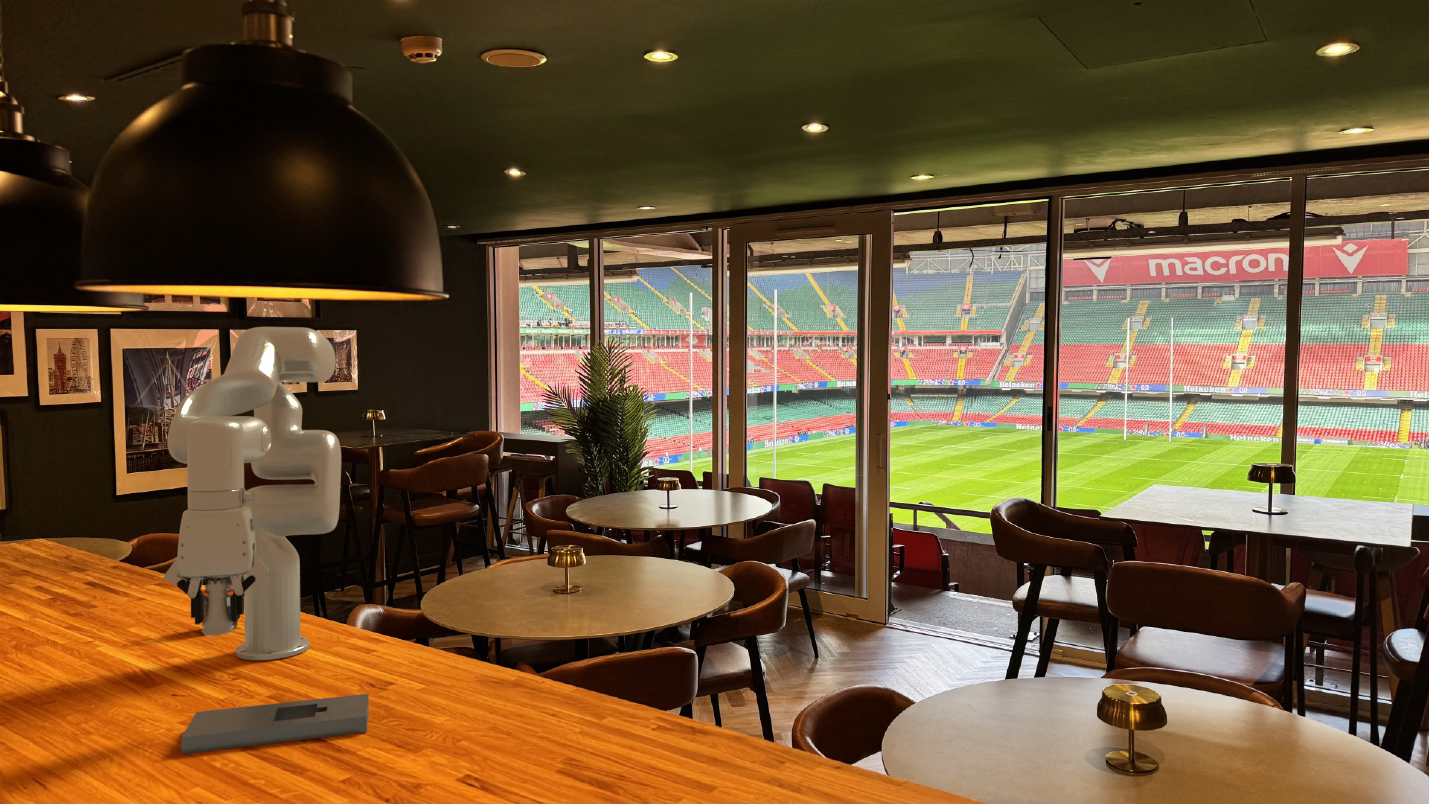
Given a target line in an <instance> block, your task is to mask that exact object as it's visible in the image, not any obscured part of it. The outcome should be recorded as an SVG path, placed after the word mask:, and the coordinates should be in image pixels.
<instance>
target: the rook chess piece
mask: <svg viewBox="0 0 1429 804" xmlns="http://www.w3.org/2000/svg"><path fill="white" fill-rule="evenodd" d="M228 586H229V584H228V583H227V579H226V578H220V581H217V578H214V581H212V579H210V578H209V579H208V580H207V584H206V585H205V586H204V588H205V589H207V590H208V596H207V598H208V610H207V614H206V616H205V619H204V620H203V622H202V623H201V626H202V627H203V628H202V629H201V633H203V635H205V636H219V635H225V634H229V633H231V632H232V631H233V630H234V629H235V628H234V626H233V625H232V623H233V621H231V616H230V615H231V614H230V613H229V611H228V607H227V600H226V597H227V595H228V594H227V593H226V589H227V588H228ZM233 628H234V629H233Z"/></svg>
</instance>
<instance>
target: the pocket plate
mask: <svg viewBox="0 0 1429 804" xmlns="http://www.w3.org/2000/svg"><path fill="white" fill-rule="evenodd" d="M369 694H370V693H362V694H351V695H343V696H334V697H325V698H323V697H322V698H314V699H306V700H298V701H297V700H296V701H286V702H279V703H277V702H276V703H269V704H268V703H267V704H258V705H249V706H248V705H247V706H240V707H231V708H221V709H212V710H211V709H210V710H203V711H196V712H195V714H194V716H193V717H192V719H191V720H190V722H189V724H188V725H187V727H186V729H185V730H184V732H183V734H182V736H180V737H181V755H187V754H188V755H189V754H195V753H204V752H213V751H221V750H230V749H237V748H246V747H255V746H256V747H257V746H262V745H263V746H264V745H272V744H280V743H289V742H290V743H291V742H297V741H305V740H315V739H321V738H330V737H339V736H346V735H355V734H363V733H364V734H365V733H367V732H368V731H367V730H368V724H369V723H368V721H369V708H370V707H369V701H370V699H369Z"/></svg>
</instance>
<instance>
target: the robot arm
mask: <svg viewBox="0 0 1429 804" xmlns="http://www.w3.org/2000/svg"><path fill="white" fill-rule="evenodd" d="M336 361H337V359H336V353H335V350H334V347H333V345H332V344H331V342H330V340H329V339H327V338H326V337H325V336H324V335H323V334H321V333H320V332H318V331H317V330H315V329H313V328H309V327H300V326H299V327H297V326H294V327H293V326H292V327H291V326H288V327H287V326H258V327H257V326H256V327H252V328H248V329H247V330H245V331H244V332H242V333H241V334H240V336H239V337H238V339H237V340H236V343H235V345H234V348H233V350H232V351H231V355H230V358H229V360H228V363H227V366H226V368H225V370H224V373H223V374H221V375H219V376H217V377H215V378H213V379H211V380H209V381H208V382H207V381H206V383H204V384H202V385H200V386H198V387H197V388H195V389H193V390H192V391H190V392H189V393H188V394H187V395H185V397H184V398H183V399H182V400H181V402H180V403H179V405H178V407H177V409H176V411H175V413H174V415H173V418H172V420H171V422H170V426H169V430H168V433H167V449H168V452H169V454H170V456H171V458H173V459H174V460H175V461H176V462H178V463H182V464H186V465H187V509H186V510H184V511H183V513H182V516H181V521H180V528H179V534H178V543H177V544H178V545H177V558H175V560H174V562H172V564H171V565H170V567H169V568H168V569H167V571H166V572H165V574H164V575H163V579H164V581H166V582H168V583H170V584H172V585H175V586H176V587H177V588H178V589H180V590H181V591H182V592H184V593H185V595H187V598H189V599H190V618H191V619H194V624H195V626H196V625H201V624H202V622H203V621H204V620H205V594H204V593H203V591H202V586H203V582H204V578H210V577H222V576H230V577H231V581H232V584H233V588H234V591H233V595H232V596H231V621H233V622H237V621H238V622H239V620H240V618H241V615H243V616H244V638H245V639H244V643H241V644H240V645H238V646H237V647H236V648H235V656H236V657H237V658H238V659H241V660H244V661H245V660H246V661H269V660H270V661H272V660H278V659H286V658H289V657H292V656H295V655H298V654H301V653H303V652H305V651H307V650H308V649H309V648H310V640H309V638H307V637H304V636H301V576H300V575H301V574H300V573H301V571H300V570H301V569H300V567H301V565H300V563H301V562H300V555H299V553H298V551H297V549H296V548H295V546H294V545H293V544H292V543H291V542H290V541H289V540H288V539H287V537H288V536H289V537H290V536H300V535H301V536H302V535H304V536H305V535H323V534H327V533H331V532H332V531H334V530H335V528H336V527H337V525H338V521H339V518H340V517H339V515H340V503H341V501H340V500H341V479H342V477H341V475H342V447H341V445H340V441H339V438H338V437H337V435H336V434H335V433H333V432H331V431H329V430H323V429H303V428H302V421H303V420H302V419H303V408H302V407H303V406H302V405H301V402H300V401H299V400H298V398H297V397H296V396H295V394H294V393H292V392H291V390H289V389H288V388H287V387H286V386H285V384H283V383H321V382H326V381H328V380H330V378H331V377H332V376H333V375H334V372H335V369H336V363H337V362H336ZM282 382H283V383H282ZM249 411H253V416H249V415H247V416H243V415H241V416H239V414H243V413H247V412H249ZM245 464H251V470H252V472H253V474H254V475H255V476H256V477H258V478H260V479H265V480H313V481H314V484H270V485H268V484H267V485H259V486H255V487H251V488H249V489H247V490H246V487H245V466H244V465H245ZM286 536H287V537H286Z"/></svg>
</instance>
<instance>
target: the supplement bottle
mask: <svg viewBox="0 0 1429 804" xmlns="http://www.w3.org/2000/svg"><path fill="white" fill-rule="evenodd" d="M214 578H217V581H220V578H226V579H227V583H228V584H229V586H228V588H227V589H226V593H227V594H228V595H227V597H226V600H227V607H228V611H229V613H230V614H231V596H232V595H233V591H234V588H233V584H232V580H231V577H230V576H222V577H209V579H212V581H214ZM204 595H205V616H206V614H207V610H208V598H207V596H208V590H207V589H206V588H205V589H204ZM230 616H231V615H230ZM238 623H239V620H238V621H237V622H233V623H232V625H233V626H234V628H233V630H234V629H236V628H237V627H238V625H239V624H238Z"/></svg>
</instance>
